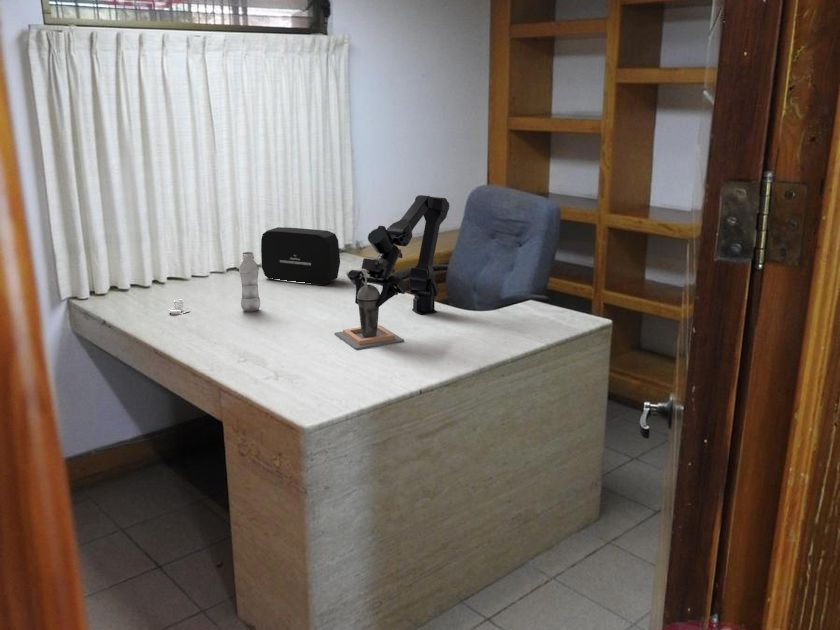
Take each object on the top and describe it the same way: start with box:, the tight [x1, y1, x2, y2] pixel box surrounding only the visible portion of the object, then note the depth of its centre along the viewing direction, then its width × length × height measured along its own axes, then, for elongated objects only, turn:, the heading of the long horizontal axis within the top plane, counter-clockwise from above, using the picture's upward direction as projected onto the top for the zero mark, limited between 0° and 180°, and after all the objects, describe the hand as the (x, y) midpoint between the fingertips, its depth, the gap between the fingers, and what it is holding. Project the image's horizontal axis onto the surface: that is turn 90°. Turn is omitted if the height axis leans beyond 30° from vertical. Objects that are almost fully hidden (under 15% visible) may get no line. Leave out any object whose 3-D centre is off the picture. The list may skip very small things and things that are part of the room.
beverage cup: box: [357, 270, 381, 337], centre depth 234 cm, size 7×7×20 cm
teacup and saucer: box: [169, 298, 184, 315], centre depth 263 cm, size 9×8×4 cm
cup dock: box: [334, 324, 405, 351], centre depth 237 cm, size 16×16×2 cm
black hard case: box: [260, 226, 341, 286], centre depth 303 cm, size 30×12×20 cm, turn 69°
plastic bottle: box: [238, 251, 261, 312], centre depth 262 cm, size 6×7×20 cm
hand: (366, 305), depth 233 cm, fingers closed on beverage cup, 7 cm apart
